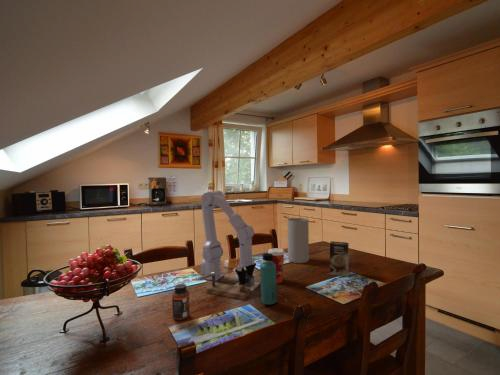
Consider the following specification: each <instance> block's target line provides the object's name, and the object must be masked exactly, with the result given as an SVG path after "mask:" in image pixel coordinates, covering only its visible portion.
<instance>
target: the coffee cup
mask: <svg viewBox="0 0 500 375" xmlns="http://www.w3.org/2000/svg"><path fill="white" fill-rule="evenodd" d="M267 253H270V254H273V260H272V261H271V262H273V263H274V264H275V265H276V274H277V275H276V284H280V283H283V280H284V279H283V278H284V262H285V260H284V259H285V251H284V249H282V248H275V247H274V248H270V249H268V252H267Z"/></svg>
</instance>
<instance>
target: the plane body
mask: <svg viewBox="0 0 500 375" xmlns="http://www.w3.org/2000/svg"><path fill="white" fill-rule="evenodd" d="M206 293H207V294H212V295H217V296H221V297H226V298H232V299H238V300H243V301H244V300H245V299H246V298H247V297H248V296H249V295H250V294H251V291H250V288H245V285H241V286H240V287H239V286H234V284H233V285H231V284H226V283H221V282H217V281H215V276H212V280H211V284H210V285H209V286H207V287H206Z"/></svg>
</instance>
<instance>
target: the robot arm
mask: <svg viewBox="0 0 500 375" xmlns="http://www.w3.org/2000/svg"><path fill="white" fill-rule="evenodd" d="M201 202H202V203H201V210H202V219H203V228H204V233H205V243H204V245H203V246H202V254H201V255H202V261H201V264H200V275H201V276H204V275H206V274H209V273H211V272H213V271H215V272H216V275H215V282H217V281H218V280H221V278H223V277H224V274H221V259H222V256H223V255H224V249H223V247H222V243H221V242H220V241H219V240H218V237H217V229H216V224H215V223H216V222H215V214H214V209H215V208H216V207H219V208H220V209H221V210H222V211H223V213H224V214H225V215H226V216H227V217H228V223H230V225H231V226H232V227H233V229H234V230H235V231H236V237H237V239H238V243H239V263H238V264H237V266H236V268H235V269H234V270H235V273H236V275H237V278H238V277H239V281H240V284H241V285H245V282H246V275H250V276H254V271H255V268H256V266H257V262H255V257H253V241H252V239H253V237H254V234H255V230H254V228H253V226H252V225H249V224H248V223H246V222H245V220H244V219H243V217H242V215H241V214H240V213H235V211H234V210H233V208H232V207H231V205H230V204H229V202H228V200H227V199H226V195H225V194H224V193H223V191H221V190H212V191H211V190H209V191H208V190H207V191H205V192H204V193H203V194H202V195H201ZM201 276H200V277H201ZM204 280H209V281H212V276H211V277H208V278H205V279H204Z"/></svg>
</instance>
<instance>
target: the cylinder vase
mask: <svg viewBox="0 0 500 375" xmlns="http://www.w3.org/2000/svg"><path fill="white" fill-rule="evenodd" d="M286 220H287V221H286V222H287V223H286V224H287V261H289V263H290V262H291V263H292V262H293V263H294V264H306V263H308V262H309V260H310V254H309V253H310V250H309V249H310V245H309V244H310V243H309V241H310V240H309V238H310V236H309V234H310V232H309V231H310V230H309V219H308V218H303V217H302V218H301V217H291V218H287V219H286Z"/></svg>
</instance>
